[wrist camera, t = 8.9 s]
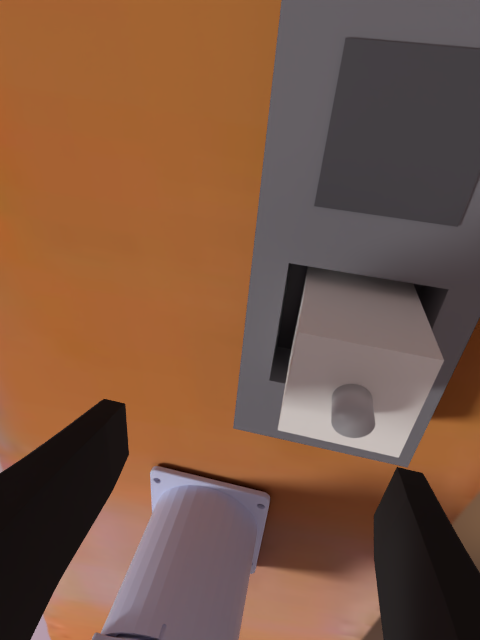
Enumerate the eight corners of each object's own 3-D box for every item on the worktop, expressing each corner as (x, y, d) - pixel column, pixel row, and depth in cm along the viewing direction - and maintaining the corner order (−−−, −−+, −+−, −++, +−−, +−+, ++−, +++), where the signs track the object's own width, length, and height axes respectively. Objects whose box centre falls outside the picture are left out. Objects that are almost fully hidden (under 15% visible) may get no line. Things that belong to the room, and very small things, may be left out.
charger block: (380, 352, 18) (403, 484, 12) (293, 336, 18) (273, 453, 12) (409, 273, 16) (453, 383, 10) (309, 256, 16) (295, 352, 10)
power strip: (398, 419, 20) (409, 476, 17) (245, 387, 21) (230, 436, 18) (645, -169, 9) (785, -284, 7) (316, -174, 11) (308, -276, 8)
